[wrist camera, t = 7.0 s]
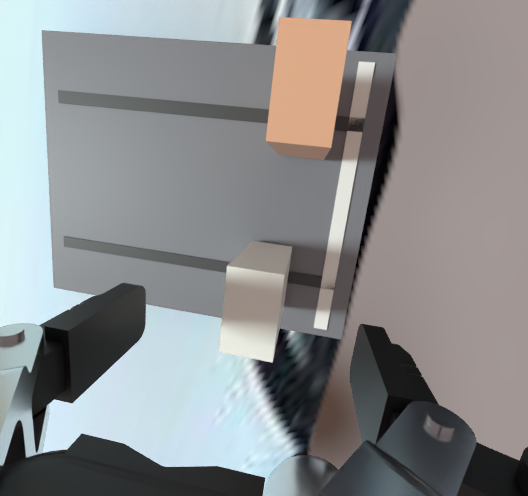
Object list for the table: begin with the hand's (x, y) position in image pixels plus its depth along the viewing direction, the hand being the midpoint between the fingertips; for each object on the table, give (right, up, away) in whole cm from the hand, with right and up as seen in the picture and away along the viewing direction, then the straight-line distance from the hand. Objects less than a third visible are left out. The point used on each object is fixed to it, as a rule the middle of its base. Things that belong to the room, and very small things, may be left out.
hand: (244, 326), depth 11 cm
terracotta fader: (+3, +10, +5) cm, 11 cm away
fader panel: (-3, +7, +9) cm, 12 cm away
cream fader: (+1, +1, +7) cm, 7 cm away
